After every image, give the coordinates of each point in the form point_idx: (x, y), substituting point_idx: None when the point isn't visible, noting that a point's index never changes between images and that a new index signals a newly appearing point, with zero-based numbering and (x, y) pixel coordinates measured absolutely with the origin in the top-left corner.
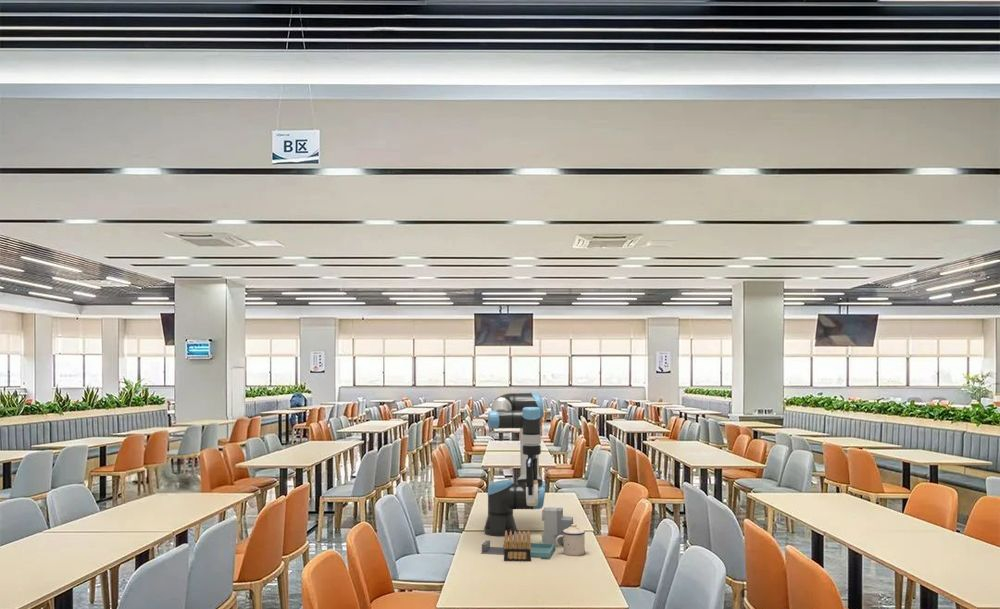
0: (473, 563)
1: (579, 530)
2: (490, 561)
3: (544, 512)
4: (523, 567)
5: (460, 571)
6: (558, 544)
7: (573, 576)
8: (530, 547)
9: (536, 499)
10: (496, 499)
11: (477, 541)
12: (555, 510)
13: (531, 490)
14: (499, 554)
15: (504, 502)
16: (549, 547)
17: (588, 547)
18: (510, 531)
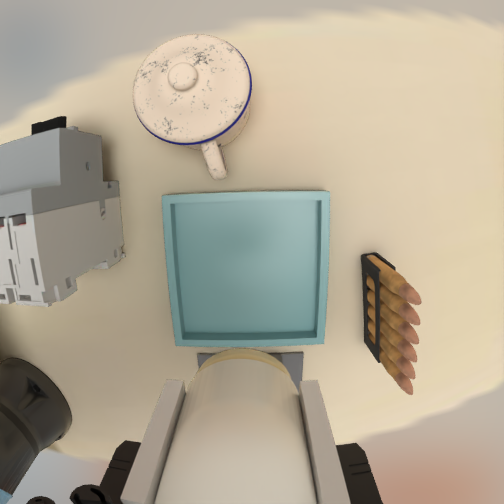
0: (394, 404)
1: (211, 49)
2: (374, 375)
3: (48, 290)
4: (434, 263)
5: (457, 399)
6: (226, 166)
7: (486, 102)
8: (391, 269)
9: (275, 386)
10: (12, 474)
11: None
12: (26, 225)
13: (375, 483)
14: (300, 374)
15: (1, 448)
16: (174, 217)
17: (107, 80)
18: (414, 376)
